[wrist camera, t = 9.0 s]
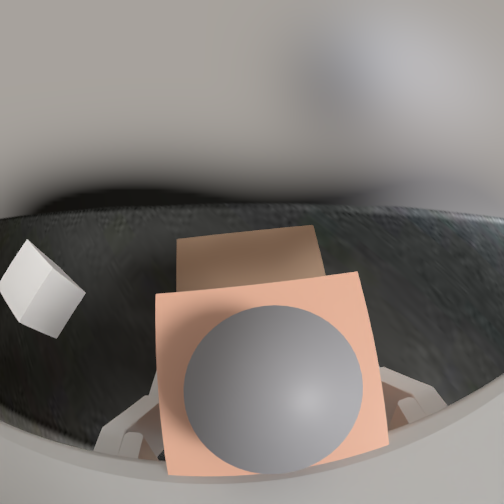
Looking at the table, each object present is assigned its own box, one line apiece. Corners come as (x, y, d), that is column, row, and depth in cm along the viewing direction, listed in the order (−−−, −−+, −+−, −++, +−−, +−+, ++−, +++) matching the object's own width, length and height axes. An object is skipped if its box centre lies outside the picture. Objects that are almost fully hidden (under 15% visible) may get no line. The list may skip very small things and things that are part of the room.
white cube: (57, 339, 18) (18, 322, 14) (31, 307, 19) (-4, 286, 15) (86, 293, 20) (52, 267, 16) (58, 265, 21) (27, 238, 17)
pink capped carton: (306, 419, 14) (412, 473, 3) (226, 429, 14) (156, 511, 3) (296, 346, 16) (372, 250, 5) (218, 355, 16) (139, 276, 5)
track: (331, 576, 8) (354, 620, 2) (241, 587, 8) (236, 636, 2) (295, 270, 21) (310, 215, 14) (200, 280, 20) (177, 229, 14)
